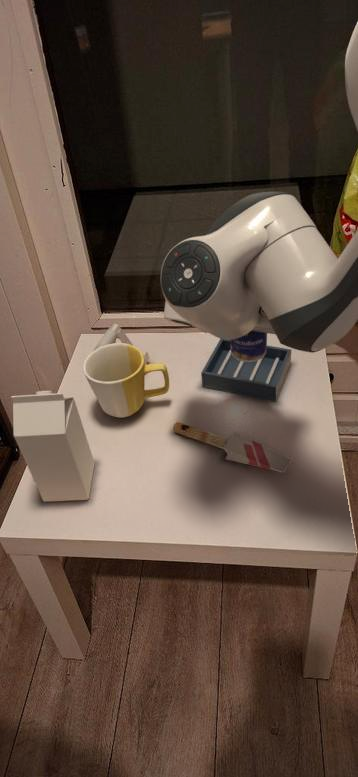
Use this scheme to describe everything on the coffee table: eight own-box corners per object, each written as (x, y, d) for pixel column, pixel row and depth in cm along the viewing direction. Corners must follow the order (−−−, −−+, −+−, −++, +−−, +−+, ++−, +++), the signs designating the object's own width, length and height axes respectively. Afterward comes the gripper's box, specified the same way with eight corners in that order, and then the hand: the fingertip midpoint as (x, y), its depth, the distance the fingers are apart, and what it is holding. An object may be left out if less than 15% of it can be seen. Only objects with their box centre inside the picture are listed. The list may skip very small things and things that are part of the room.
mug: (88, 426, 94) (74, 381, 87) (104, 386, 101) (92, 341, 94) (165, 430, 91) (157, 384, 84) (175, 389, 99) (169, 343, 92)
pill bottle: (231, 364, 85) (229, 312, 78) (230, 342, 89) (228, 290, 83) (268, 362, 85) (269, 310, 78) (265, 340, 89) (266, 288, 82)
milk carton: (89, 500, 82) (57, 412, 70) (43, 502, 83) (3, 415, 70) (95, 463, 88) (67, 375, 75) (52, 466, 88) (17, 379, 75)
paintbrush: (282, 468, 79) (168, 428, 89) (282, 480, 81) (171, 439, 90) (292, 450, 81) (181, 413, 91) (292, 462, 83) (183, 424, 93)
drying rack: (290, 364, 101) (291, 349, 98) (275, 402, 94) (276, 387, 91) (221, 351, 105) (220, 337, 103) (202, 387, 99) (201, 372, 96)
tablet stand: (134, 390, 99) (124, 354, 94) (95, 385, 102) (84, 350, 96) (150, 361, 105) (142, 325, 100) (113, 357, 108) (104, 322, 102)
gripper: (311, 291, 67) (321, 312, 80) (161, 271, 74) (193, 294, 87) (301, 340, 67) (312, 354, 80) (152, 316, 74) (185, 332, 87)
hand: (249, 322), depth 84 cm, fingers closed on pill bottle, 6 cm apart
